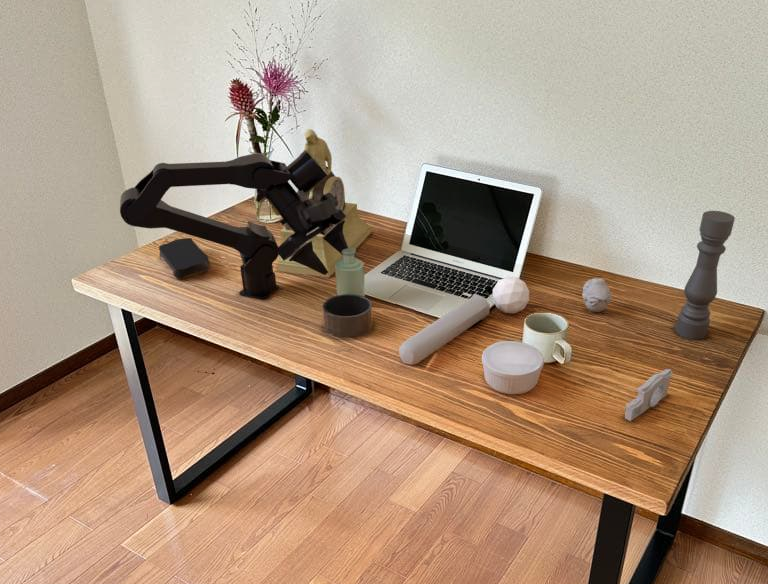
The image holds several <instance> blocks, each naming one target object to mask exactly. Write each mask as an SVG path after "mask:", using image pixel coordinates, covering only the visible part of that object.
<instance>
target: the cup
mask: <svg viewBox="0 0 768 584" xmlns="http://www.w3.org/2000/svg"><path fill="white" fill-rule="evenodd" d="M321 309H322V320H323V321H322V322H323V328H324V331H325V332H326V333H328V334H329V335H331V336H333V337H336V338H343V339H350V338H351V339H352V338H358V337H361V336H363V335H366V334H367V333H369V332H370V331H371V330H372V328H373V304H372V302H371V300H370V299H368V298H367V297H366V296H365V297H363V296H360V295H355V294H343V295H337V294H336V295H334V296H331V297H329V298H328V299H326V300H325V301H324V302H323V303H322V308H321Z"/></svg>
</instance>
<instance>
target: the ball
mask: <svg viewBox="0 0 768 584" xmlns="http://www.w3.org/2000/svg"><path fill="white" fill-rule="evenodd" d="M492 300H493V303H494V305H495V307H496V309H498V310H500V311H501V312H503V313H505V314H517V313H518V312H521V311H523V310H524V309H525V308H526V307H527V304H529V302H530V290H529V288H528V286H527V283H526V282H525V281H523V280H522V279H520V278H519V277H517V276H506V277H504V278H502V279H499V280H498V281H497V282H496V284H495V286H494V287H493V288H492Z"/></svg>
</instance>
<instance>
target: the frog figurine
mask: <svg viewBox="0 0 768 584" xmlns="http://www.w3.org/2000/svg"><path fill="white" fill-rule="evenodd" d="M581 295H582V299H583V302H584V305H585V307H586V308H587V309H588V310H589V311H591V312H593V313H600V312H603V311H604V310H606V308H607V307H608V305H610V302H611V300H612V294H611V289H610V287H609V286H608V284H607V283H606V280H605V279H604V278H597V277H594V278H592V279H591V278H589V279H588V280H586V282H585V283H584V285H583V287H582V294H581Z"/></svg>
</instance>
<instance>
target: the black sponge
mask: <svg viewBox="0 0 768 584" xmlns="http://www.w3.org/2000/svg"><path fill="white" fill-rule="evenodd" d="M158 250H159V258H160V260H162V261H164V263H165V264H166V266H167V267H169V270H170V271H171V272H172V275H173V277H174V278H175V279H178V280H182V279H185V278H188V277H191V276H195V275H197V274H201V273H205V272H207V271H209V270H210V269H211V262H210V259H209V256H208V255H207V254H206V253H205V252H204V251H203V250H202V249H201V248H200V247H199V246H198V245H197V243H196V242H194V240H193V238H191V237H186V238H177V239H174V240H172V241H170V242H166V243H164V244H161V245H159V247H158Z"/></svg>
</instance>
